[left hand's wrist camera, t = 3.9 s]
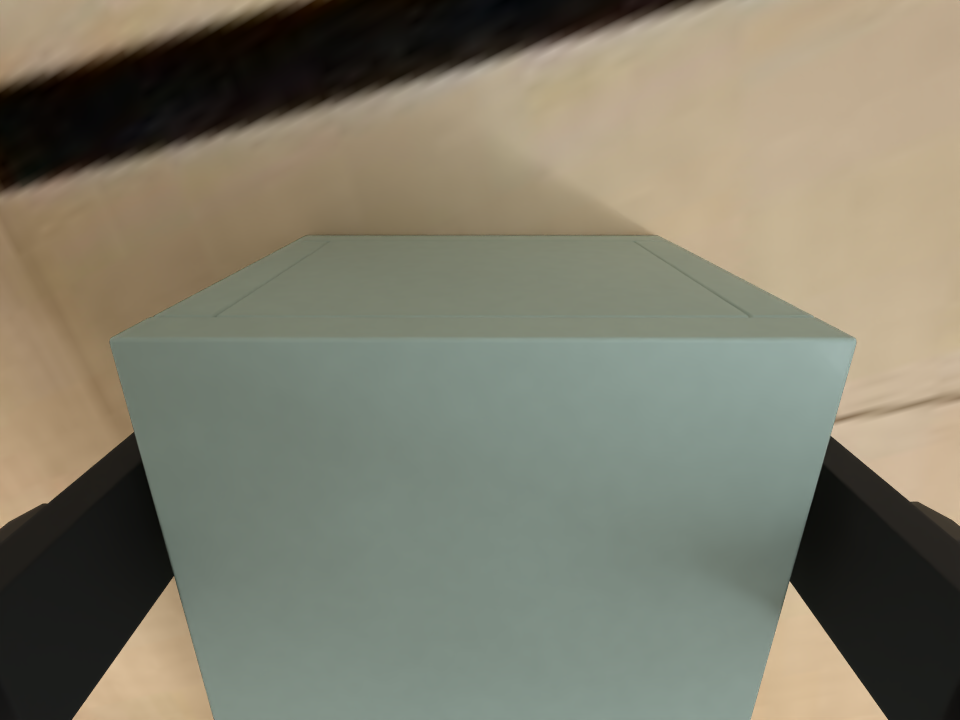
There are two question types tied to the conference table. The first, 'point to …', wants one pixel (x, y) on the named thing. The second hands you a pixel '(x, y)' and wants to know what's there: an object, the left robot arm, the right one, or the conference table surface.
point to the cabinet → (482, 476)
